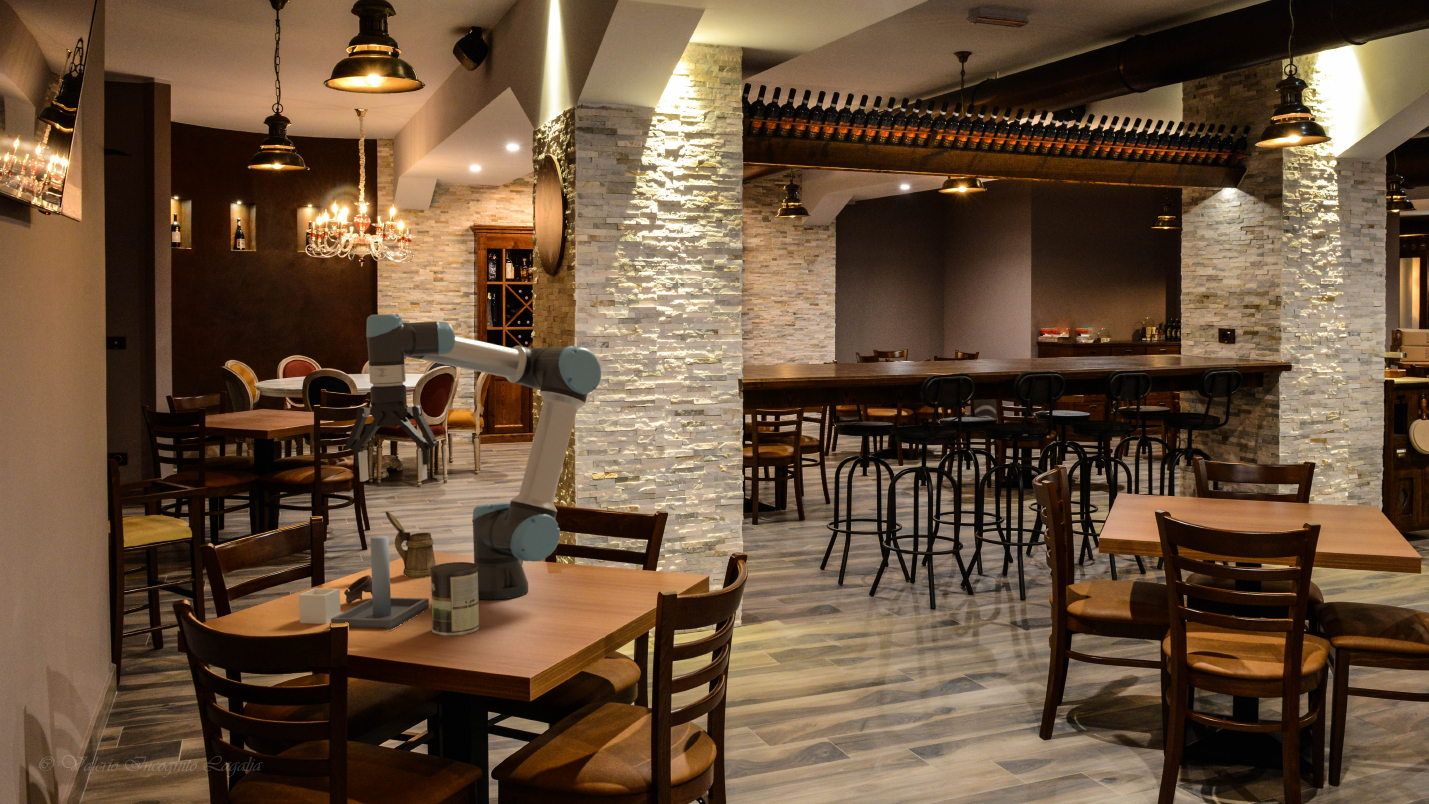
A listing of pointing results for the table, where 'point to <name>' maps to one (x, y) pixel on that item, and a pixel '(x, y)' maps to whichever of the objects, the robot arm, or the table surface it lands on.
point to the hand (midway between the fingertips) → (393, 480)
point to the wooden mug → (414, 550)
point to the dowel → (380, 576)
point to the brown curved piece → (358, 589)
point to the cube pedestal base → (319, 605)
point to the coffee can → (454, 598)
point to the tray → (399, 614)
